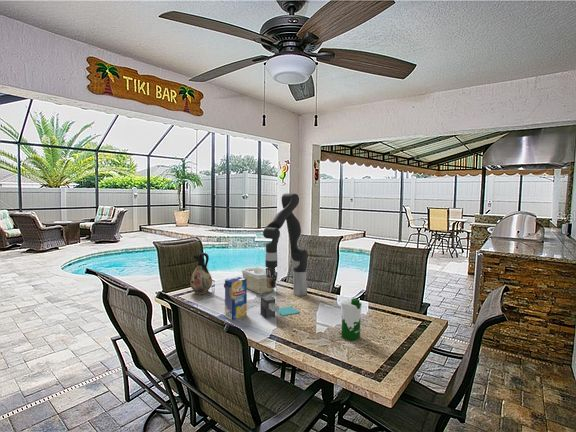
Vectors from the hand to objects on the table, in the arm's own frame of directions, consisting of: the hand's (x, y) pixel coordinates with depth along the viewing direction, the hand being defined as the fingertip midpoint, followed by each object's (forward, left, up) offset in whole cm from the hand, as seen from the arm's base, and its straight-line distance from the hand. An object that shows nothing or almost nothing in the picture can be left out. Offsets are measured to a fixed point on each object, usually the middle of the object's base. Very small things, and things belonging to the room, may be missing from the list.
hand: (271, 285), depth 206 cm
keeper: (+6, +9, -15) cm, 19 cm away
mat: (-7, +8, -15) cm, 18 cm away
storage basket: (-9, -44, -15) cm, 48 cm away
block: (0, 0, -1) cm, 1 cm away
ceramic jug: (+32, -52, -15) cm, 63 cm away
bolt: (+6, +12, -8) cm, 16 cm away
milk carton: (-20, +55, -15) cm, 60 cm away
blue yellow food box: (+24, +2, -15) cm, 28 cm away
